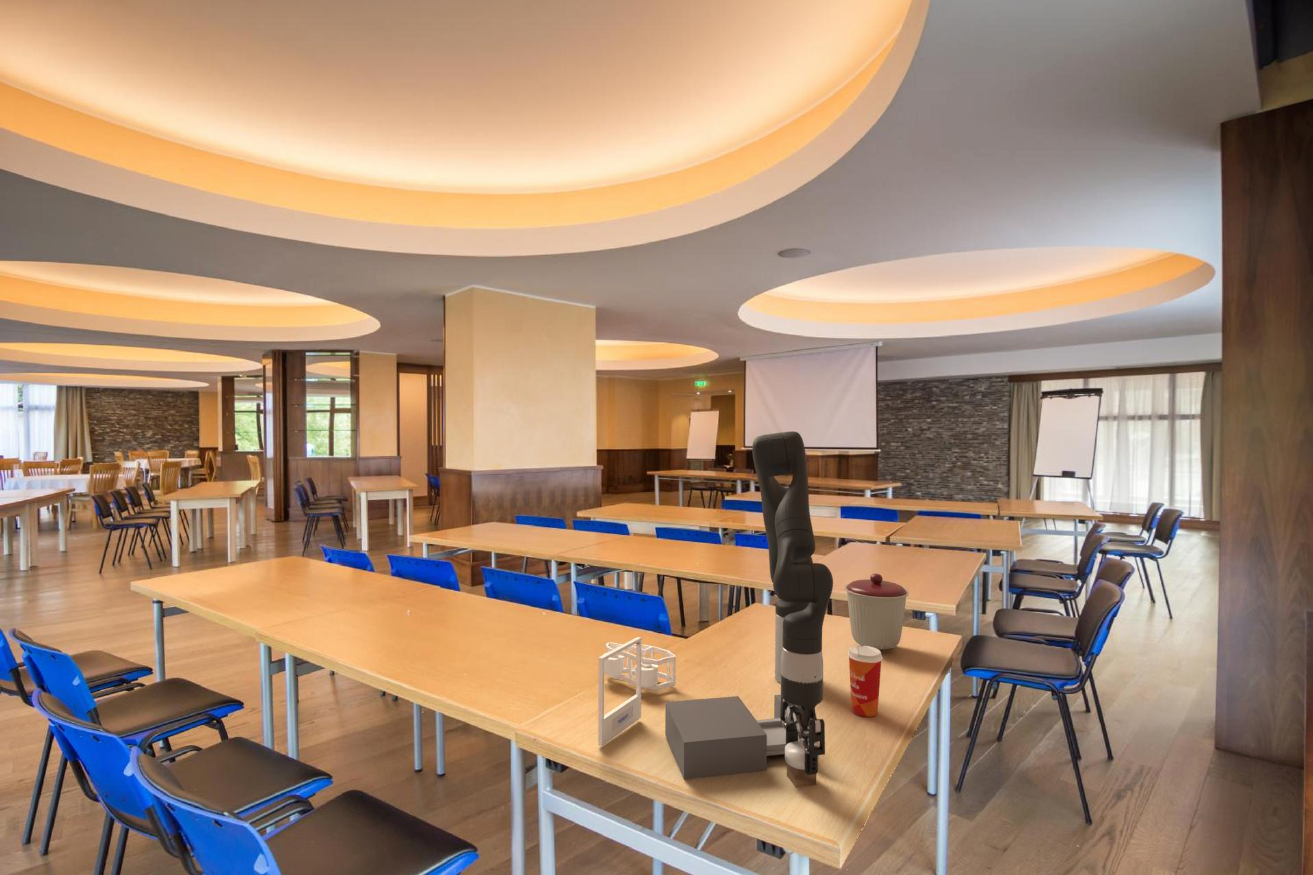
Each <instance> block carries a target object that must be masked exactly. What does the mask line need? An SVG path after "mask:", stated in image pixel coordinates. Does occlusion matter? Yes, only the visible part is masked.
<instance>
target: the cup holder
mask: <svg viewBox="0 0 1313 875" xmlns="http://www.w3.org/2000/svg"><path fill="white" fill-rule="evenodd" d="M621 645H623V644H622V643H617V642H607V643H606V644H605V651H606V652H605V653H603V655H604V654H606V653H608V652H610V651H612V650H614V649H616V648H618V647H619V646H621ZM631 651H633V652H635V653H636V644H634V645H632V646H630V647H629V648H627V649H626V651H625V650H623V651H621V652H619V653H617V654H616V655H614V656H612V657H610V658H608V659H606V660H604V675H606V676H608V677H610V678H611V679H615V680H621V681H624V682H627V683H629V684H631V685H633V686H635V687H636V664H635V665H633V664H634V662H636V654H633V653H631ZM654 653H659V654H661V655H665V656H666V657H662V658H659V659H655V658H654ZM647 654H650V657H648V658H647V657H646V656H647ZM641 655H642V656H641V689H647V690H648V689H649V690H653V691H662V690H663V689H665V688H666V689H667V688H671V687H676V685H677V684H676V683H677V682H676V676H677V675H676V673H677V672H676V671H677V670H676V666H677V665H676V664H677V658H676V655H675V654H674V653H672V651H670V650H668V649H664V648H661V647H658V646H653V645H647V644H641ZM625 658H626V667H625ZM633 661H634V662H633ZM671 663H672V666H671ZM663 664H666V673H664V672H661V671H659V666H660V665H663ZM633 666H634V667H633ZM671 668H672V674H671ZM623 674H628V675H629V676H627V675H623ZM671 675H672V677H671ZM633 676H634V678H633ZM659 678H662V679H663V680H666V681H665V682H662V683H658V682H659Z"/></svg>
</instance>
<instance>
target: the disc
mask: <svg viewBox="0 0 1313 875" xmlns="http://www.w3.org/2000/svg"><path fill="white" fill-rule="evenodd" d="M808 745H809V743H808ZM819 757H820V755H818V764H819V761H820V760H819V759H820V758H819ZM784 761H785V763H786V765H787V764H788V765H790V766H792V767H794V768H797V769H802V770H805V750H804V745H803V742H799V741H796V742H790V743H788V744H787V745H786V746H785V754H784Z"/></svg>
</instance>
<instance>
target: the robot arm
mask: <svg viewBox="0 0 1313 875" xmlns="http://www.w3.org/2000/svg"><path fill="white" fill-rule="evenodd" d="M751 448H752V451H751V453H752V459H753V463H754V470H755V474H756V477H757V478H756V479H757V482H758V487H759V491H760V497H761V498H760V499H761V507H762V517H763V518H762V519H763V524H764V529H765V534H766V539H767V544H768V545H767V547H768V561H769V562H768V563H769V576H770V580H771V583H773V584H772V588H773V592H774V594H775V596H776V597H777V598H778V599H779V600H778V601H777V602H776V603H775V617H774V618H775V620H774V621H775V622H774V623H775V627H774V628H775V630H774V632H775V633H774V634H775V636H774V639H775V641H774V642H775V644H774V645H775V647H774V649H775V650H774V655H775V656H774V679H775V681H776V682H777V683H779V684H780V695H781V709H780V719H781V721H784V727H785V729H786V745H787V744H788V743H790V742H796V741H798V735H799V739H800V740H802V741H803V745H804V750H805V773H806V774H807V775H813V774H818V772H819V763H818V755H819V756H825V754H826V738H825V737H826V731H825V725H826V724H825V720H824V719H823V718H818V717H817V712H816V707H817V705H819V704H820V703H822V701H823V699H824V658H823V626H824V621H825V616H826V613H827V608H828V605H829V603H830V600H831V596H832V593H833V589H834V588H833V587H834V578H833V575H832V572H831V570H830V568H829V567H828V566H827V565H826V564H823V563H819V562H814V561H813V557H812V556H813V555H814V553H815V551H816V540H815V535H814V530H813V525H812V519H811V513H810V499H809V498H810V497H809V496H810V494H809V493H810V492H809V476H808V464H807V454H806V448H805V444H804V440H803V438H802V436H801V434H800V433H799V432H797V431H784V432H775V433H769V434H763V435H759V436H757V437H755V438H754V439H753V442H752V447H751ZM786 475H787V476H789V475H792V479H791V481H790V485H789V486H788V489H787V488H786V487H785V486H783V485H782V484H781V483H780V482H779V481H778V480H777V479H776V477H778V476H779V477H780V476H786ZM786 709H787V712H786V714H785V710H786ZM808 731H809V734H805V733H804V732H808ZM808 739H809V745H808Z"/></svg>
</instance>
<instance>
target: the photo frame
mask: <svg viewBox="0 0 1313 875" xmlns="http://www.w3.org/2000/svg"><path fill="white" fill-rule="evenodd" d="M634 644H635V645H636V652H635V653H636V654H635V655H636V661H635V662H636V663H635V665H636V686H635V694H634V695H633V696H631V697H630V698H628V699H626V700H625V701H624V702H622V703H620V704H619V705H618V706H616V707H615V708H613V709H612V710H610V711H608V712H607V713H605V674H604V660H606V659H608V658H610V657H612V656H614V655H616V654H617V653H619V652H621V651H625V650H627V648H629V647H630V646H632V645H634ZM641 645H642V636H641V637H640V636H637V637H635V638H633V639H631V640H629V641H627V642H625V643H624V644H622V645H621V646H619V647H618V648H613V649H614V650H612V651H610V652H608V653H607V652H605V653H606V654H605V653H603V654H604V655H600V656H599V657H598V706H597V707H598V708H597V709H598V711H597V713H598V716H597V718H598V723H597V724H598V727H597V728H598V729H597V730H598V733H597V734H598V735H597V736H598V738H597V739H598V741H597V742H598V746H600V747H604V746H605V745H606V744H607V743H609V742H610V741H612V740H613V739H614V738H616V737H617V736H618V735H620V734H621V733H622V732H624V731H625V730H627V729H628V728H629V727H631V726H632V725H633V724H635V723H636V722H638V721H639V720H640V719H641V718H642V687H641V657H642V654H641Z"/></svg>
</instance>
